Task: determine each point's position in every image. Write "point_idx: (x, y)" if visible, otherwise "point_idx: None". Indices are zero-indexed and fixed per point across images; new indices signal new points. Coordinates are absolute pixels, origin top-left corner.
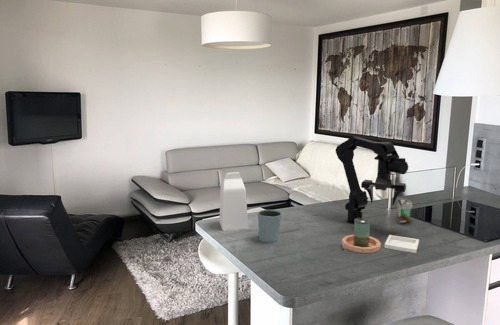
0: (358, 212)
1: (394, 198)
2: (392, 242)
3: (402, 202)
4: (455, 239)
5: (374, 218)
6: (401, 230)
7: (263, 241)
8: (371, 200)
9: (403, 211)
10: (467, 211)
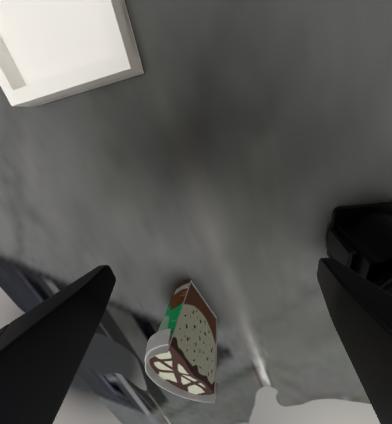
0: (380, 252)
1: (10, 332)
2: (92, 3)
3: (185, 375)
4: (22, 232)
5: (282, 291)
6: (159, 226)
7: None
8: (352, 277)
9: (169, 321)
10: (115, 378)
